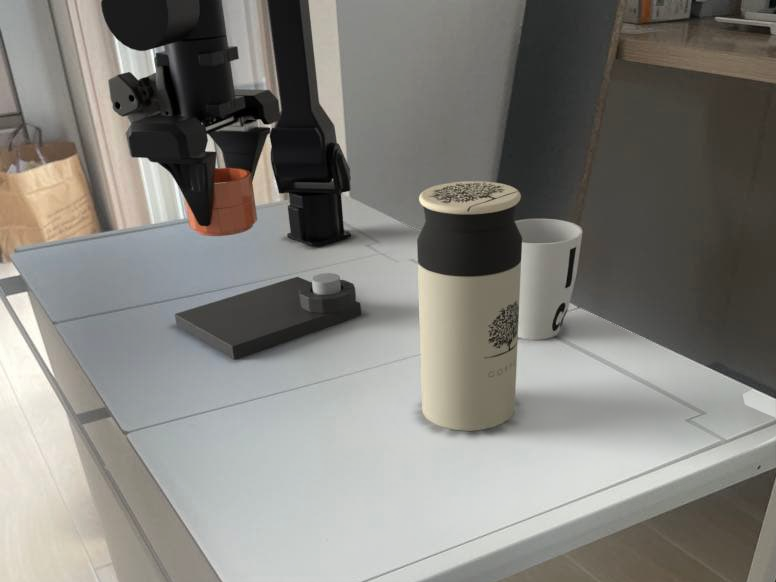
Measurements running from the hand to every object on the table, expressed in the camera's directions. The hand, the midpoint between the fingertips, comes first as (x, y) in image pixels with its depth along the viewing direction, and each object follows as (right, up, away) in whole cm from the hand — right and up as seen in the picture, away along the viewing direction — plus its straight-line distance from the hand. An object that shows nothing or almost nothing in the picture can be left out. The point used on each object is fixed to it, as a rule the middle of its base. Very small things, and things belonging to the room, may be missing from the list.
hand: (223, 215), depth 85 cm
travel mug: (+24, -22, -12) cm, 35 cm away
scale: (+4, -9, +6) cm, 12 cm away
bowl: (0, -1, +1) cm, 1 cm away
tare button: (+10, -6, +5) cm, 13 cm away
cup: (+32, -12, +1) cm, 34 cm away
